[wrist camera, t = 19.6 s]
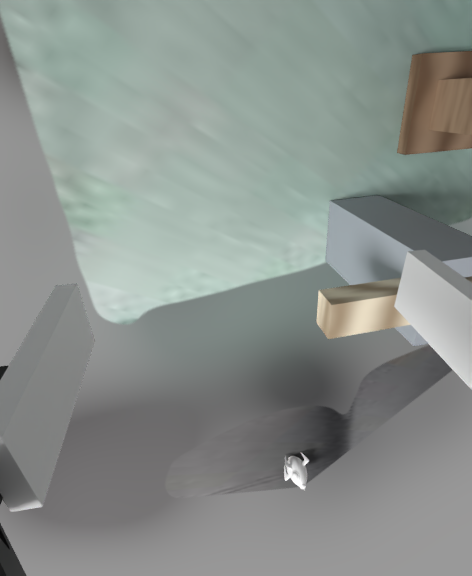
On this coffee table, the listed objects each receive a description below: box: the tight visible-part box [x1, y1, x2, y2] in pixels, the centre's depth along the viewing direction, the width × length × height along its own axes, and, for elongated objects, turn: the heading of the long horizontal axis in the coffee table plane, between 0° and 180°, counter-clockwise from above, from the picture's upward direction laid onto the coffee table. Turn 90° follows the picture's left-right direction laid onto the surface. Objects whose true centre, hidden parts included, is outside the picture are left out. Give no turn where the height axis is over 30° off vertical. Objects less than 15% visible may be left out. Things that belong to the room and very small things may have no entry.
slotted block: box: [326, 195, 472, 346], centre depth 46 cm, size 8×10×23 cm
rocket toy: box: [284, 452, 309, 489], centre depth 78 cm, size 5×5×8 cm
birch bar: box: [317, 276, 472, 339], centre depth 37 cm, size 26×4×3 cm, turn 93°
